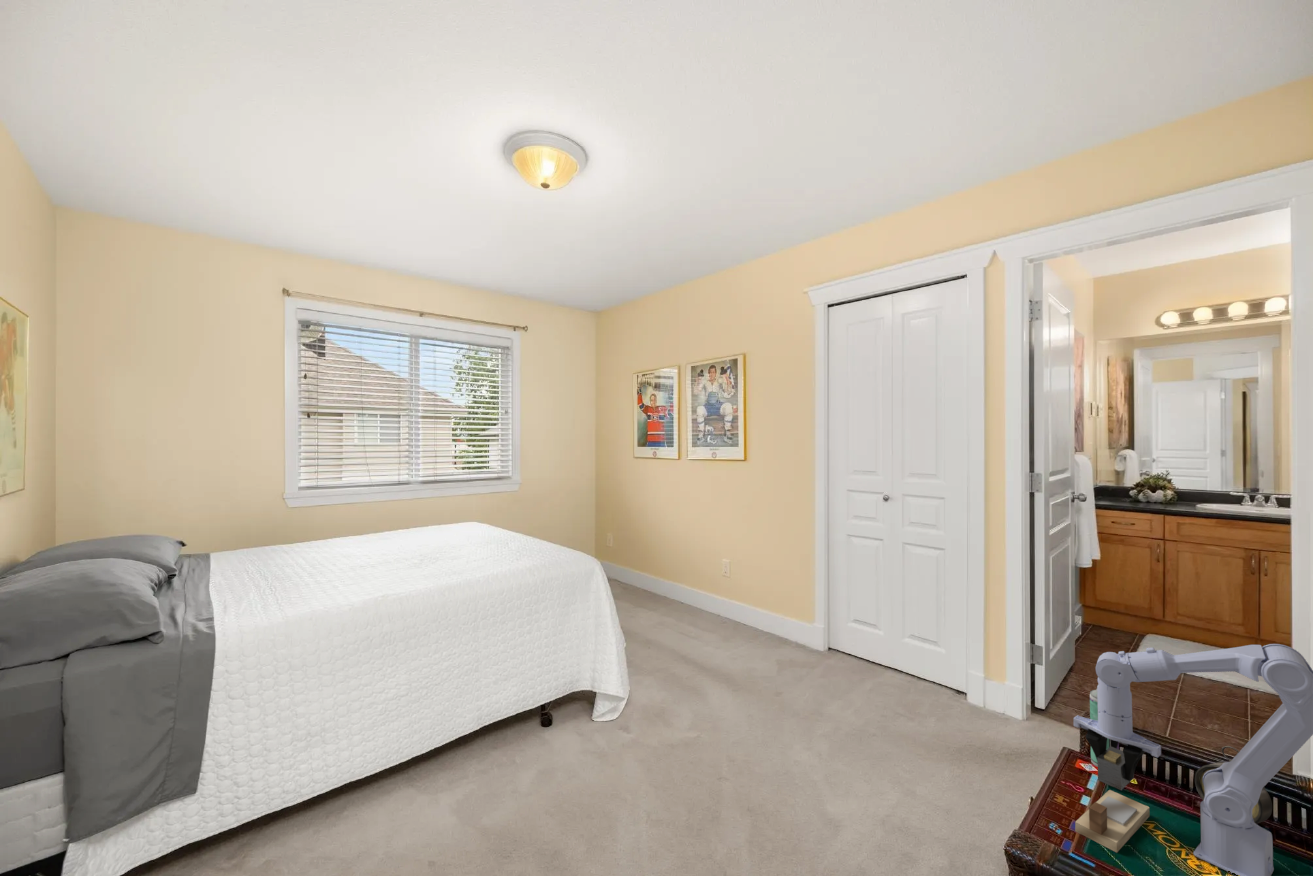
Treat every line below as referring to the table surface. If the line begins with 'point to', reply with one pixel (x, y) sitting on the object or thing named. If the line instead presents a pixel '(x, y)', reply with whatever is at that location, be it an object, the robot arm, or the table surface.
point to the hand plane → (1112, 820)
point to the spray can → (1095, 717)
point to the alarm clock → (1260, 809)
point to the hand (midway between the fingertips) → (1115, 773)
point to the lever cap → (1112, 768)
